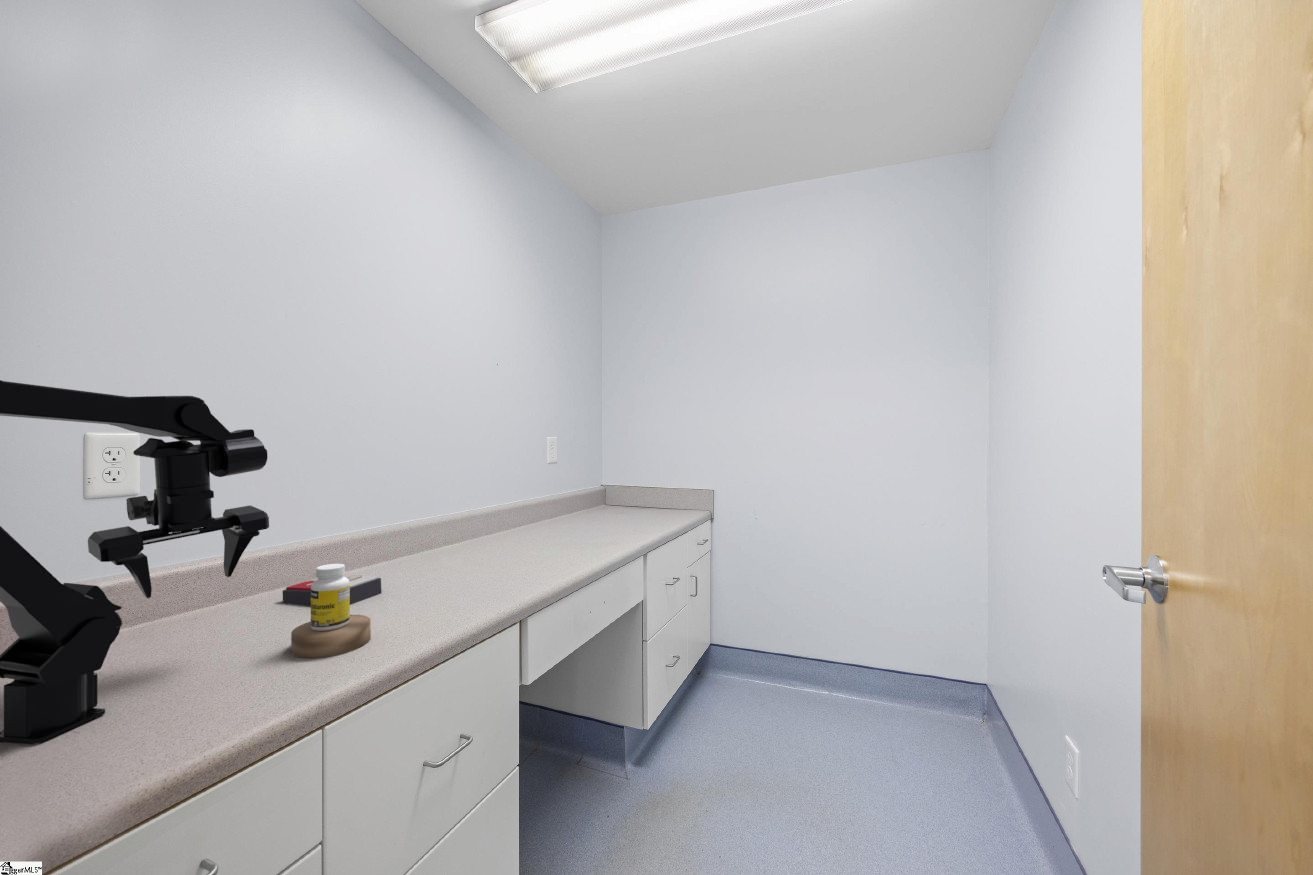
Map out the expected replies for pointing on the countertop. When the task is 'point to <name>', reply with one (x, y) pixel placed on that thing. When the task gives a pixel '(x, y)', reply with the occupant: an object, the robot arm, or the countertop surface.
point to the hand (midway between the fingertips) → (189, 586)
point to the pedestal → (330, 638)
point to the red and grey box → (358, 590)
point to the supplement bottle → (330, 598)
